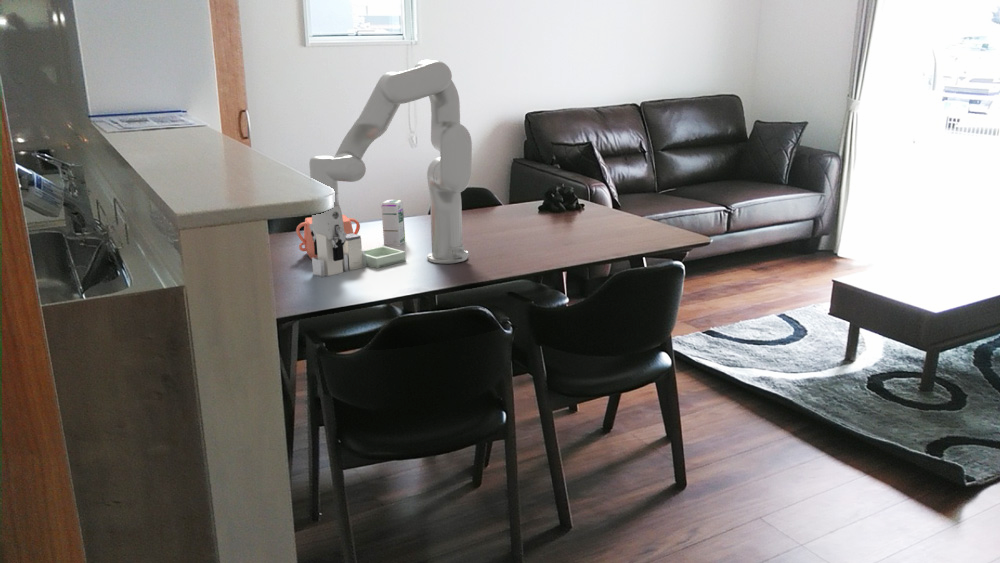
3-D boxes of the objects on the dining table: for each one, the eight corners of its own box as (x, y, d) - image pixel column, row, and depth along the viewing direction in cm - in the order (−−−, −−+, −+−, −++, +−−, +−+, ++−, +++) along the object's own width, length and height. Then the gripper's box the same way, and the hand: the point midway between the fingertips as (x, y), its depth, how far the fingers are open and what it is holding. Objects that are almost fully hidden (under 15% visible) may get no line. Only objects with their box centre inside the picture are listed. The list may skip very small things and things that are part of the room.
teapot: (353, 243, 269) (351, 202, 265) (365, 256, 251) (363, 214, 247) (293, 249, 262) (289, 207, 258) (301, 263, 245) (297, 219, 241)
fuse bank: (366, 266, 241) (364, 234, 238) (321, 277, 230) (319, 244, 227) (357, 263, 244) (355, 232, 241) (312, 274, 233) (310, 241, 230)
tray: (405, 261, 246) (405, 251, 245) (377, 268, 238) (376, 258, 238) (384, 254, 253) (383, 245, 252) (355, 261, 246) (355, 252, 245)
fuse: (342, 272, 235) (340, 231, 231) (328, 275, 231) (325, 234, 228) (333, 269, 238) (330, 228, 234) (319, 272, 235) (315, 231, 231)
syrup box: (400, 245, 264) (398, 202, 260) (383, 245, 265) (380, 202, 261) (405, 241, 270) (403, 199, 265) (388, 241, 271) (386, 199, 267)
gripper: (353, 201, 225) (357, 260, 230) (319, 193, 237) (323, 249, 242) (331, 205, 220) (335, 265, 225) (297, 197, 232) (302, 254, 237)
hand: (329, 257), depth 233 cm, fingers open, 9 cm apart
